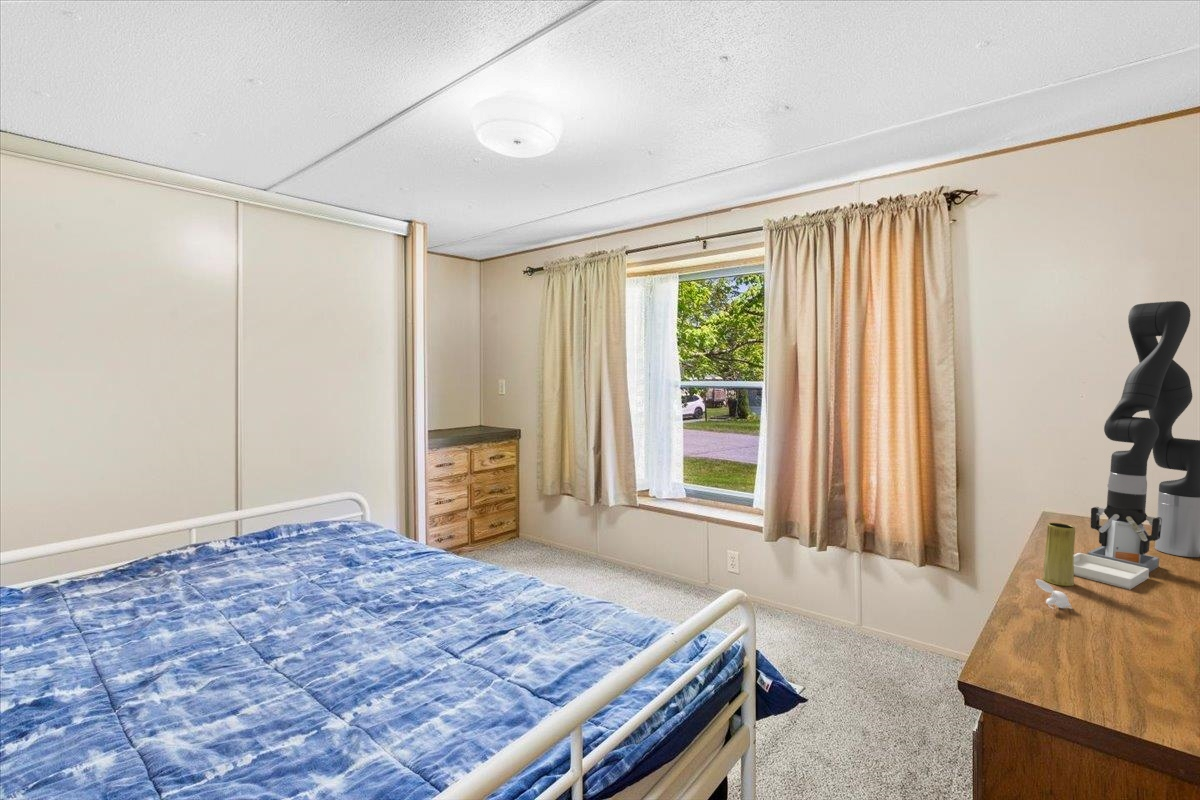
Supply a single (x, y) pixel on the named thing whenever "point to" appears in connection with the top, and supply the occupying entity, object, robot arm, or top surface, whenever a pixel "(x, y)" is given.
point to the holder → (1145, 561)
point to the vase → (1059, 554)
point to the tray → (1109, 571)
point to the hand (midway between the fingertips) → (1122, 549)
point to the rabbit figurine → (1054, 596)
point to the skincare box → (1123, 541)
